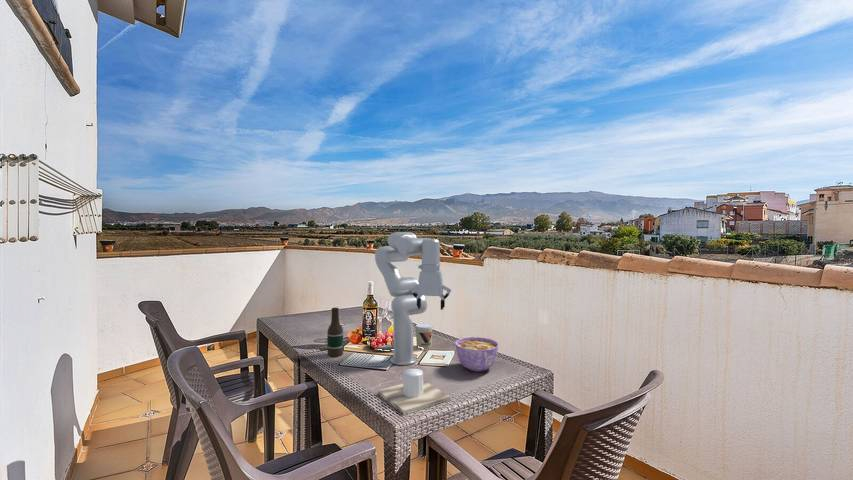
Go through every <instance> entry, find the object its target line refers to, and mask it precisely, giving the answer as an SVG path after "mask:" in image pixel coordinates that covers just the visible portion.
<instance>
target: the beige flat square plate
mask: <svg viewBox="0 0 853 480" xmlns="http://www.w3.org/2000/svg"><path fill="white" fill-rule="evenodd" d="M378 394H379V395H380V396H379V395H378ZM377 395H378V396H379V397H381V398H382V397H383V398H384V399H383V398H382V399H383V400H385V401H386V400H387V401H388V402H389V403H388V402H387V401H386V402H387V403H388V404H390V403H391V404H392V405H393V406H395V407H396V408H397V409H399V410H400V411H401V412H403V413H408V412H411V411H415V412H417V411H416V410H418V411H421V410H420V409H422V410H424V409H423V408H425V409H427V408H426V407H428V408H430V407H429V406H431V407H433V406H432V405H434V406H436V405H435V404H437V405H439V404H438V403H440V404H442V402H443V403H446V402H450V401H451V395H449V394H447V393H446V392H444V391H442V390H440V389H439V388H437V387H435V386H434V385H432V384H431V383H429V382H427V381H425V380H424V379H423V394H422V395H421V396H419V397H414V398H413V397H407V396H404V394H403V383H400V384H396V385H392V386H389V387H385V388H382V389H381V388H380V389H378V390H377ZM391 404H390V405H391ZM392 405H391V406H392ZM393 406H392V407H393ZM395 407H394V408H395ZM396 408H395V409H396ZM397 409H396V410H397ZM400 411H399V412H400ZM401 412H400V413H401Z"/></svg>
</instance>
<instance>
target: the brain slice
mask: <svg viewBox="0 0 853 480" xmlns="http://www.w3.org/2000/svg"><path fill="white" fill-rule="evenodd" d="M367 346H369V347H371V346H370V342H369V341H368V342H367ZM374 348H377V349H382V350H391V349H394V344H392V345H384V346H379V347H374Z"/></svg>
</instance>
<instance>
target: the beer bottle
mask: <svg viewBox="0 0 853 480" xmlns="http://www.w3.org/2000/svg"><path fill="white" fill-rule="evenodd" d="M330 310H331V318H330V319H331V320H330V325H329V326H328V328H327V331H326V332H327V338H326V339H327V344H326V345H327V346H326V347H327V356H328V355H329V356H330V357H329V356H328V357H329V358H338V357H339V356H340V357H342V356H343V355H344V329H343V326H342V325H341V323H340V316H339V314H340V313H339V310H340V309H339V307H332V308H331V309H330Z"/></svg>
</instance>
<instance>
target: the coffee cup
mask: <svg viewBox="0 0 853 480" xmlns="http://www.w3.org/2000/svg"><path fill="white" fill-rule="evenodd" d="M433 328H434V326H433V325H432V323H417V324H416V325H415V338H416V347H417V346H419V347H423V348H424V350H425V351H426V350H430V349H431V348H432V342H433ZM424 350H423V351H424Z"/></svg>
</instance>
